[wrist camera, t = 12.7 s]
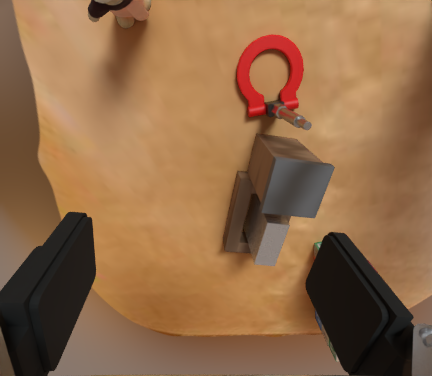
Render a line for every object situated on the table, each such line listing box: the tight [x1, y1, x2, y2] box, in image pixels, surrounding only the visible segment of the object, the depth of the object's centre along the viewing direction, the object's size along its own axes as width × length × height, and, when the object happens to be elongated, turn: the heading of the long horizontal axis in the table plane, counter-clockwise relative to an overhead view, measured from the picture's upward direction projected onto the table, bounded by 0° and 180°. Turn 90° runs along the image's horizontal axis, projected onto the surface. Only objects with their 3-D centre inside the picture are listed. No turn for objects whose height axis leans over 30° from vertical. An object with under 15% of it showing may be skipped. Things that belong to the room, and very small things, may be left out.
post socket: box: [223, 134, 335, 253], centre depth 37 cm, size 9×19×11 cm, turn 171°
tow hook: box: [237, 35, 312, 130], centre depth 29 cm, size 8×13×9 cm
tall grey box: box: [244, 194, 290, 266], centre depth 40 cm, size 3×7×9 cm, turn 170°
